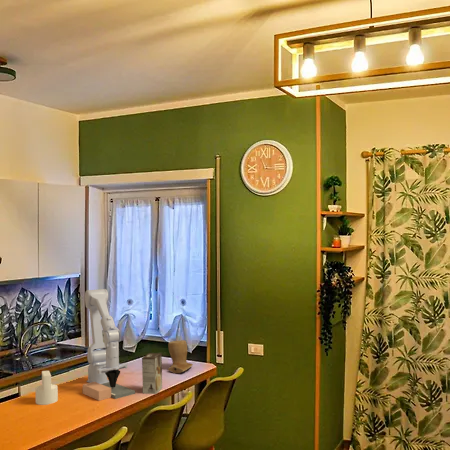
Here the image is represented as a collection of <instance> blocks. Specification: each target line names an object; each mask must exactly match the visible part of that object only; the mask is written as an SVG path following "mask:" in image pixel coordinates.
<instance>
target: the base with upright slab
mask: <svg viewBox="0 0 450 450" xmlns="http://www.w3.org/2000/svg"><path fill="white" fill-rule="evenodd" d="M51 374H52V373H51V372H50V370H42V371H41V384H40V385H39V386H36V387H35V404H36V405H39V406H48V405H51V404H54V403H56V402H58V400H59V396H58V395H59V394H58V393H59V391H58V389H59V388H58V385H57V384H53V383H52V375H51Z"/></svg>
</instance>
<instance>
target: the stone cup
mask: <svg viewBox="0 0 450 450" xmlns="http://www.w3.org/2000/svg"><path fill="white" fill-rule="evenodd" d="M167 345H168V353H169V354H170V357H171V361H172V365H171V366H169V367H168V368H167V370H168V371H170V372H171V373H173V374H181V373H183V372H185V371H187V370H189V369H190V368H192V367H193V366H194V365H193V363H190V362H187V355H188V343H187V341H186V340H185V339H182V340H173V341H169V342H168V344H167Z"/></svg>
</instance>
